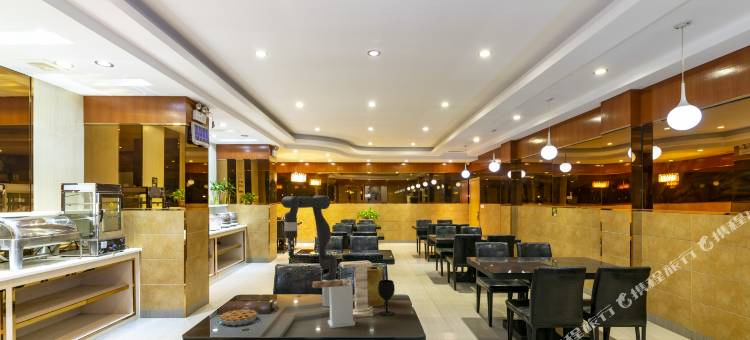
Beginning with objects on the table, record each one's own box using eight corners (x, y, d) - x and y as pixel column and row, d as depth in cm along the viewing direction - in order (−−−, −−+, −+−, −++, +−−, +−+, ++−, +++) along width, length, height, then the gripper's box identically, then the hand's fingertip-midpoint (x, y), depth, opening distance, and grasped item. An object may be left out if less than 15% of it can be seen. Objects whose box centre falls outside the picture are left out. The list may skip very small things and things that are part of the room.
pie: (246, 313, 265) (246, 305, 265) (264, 320, 249) (264, 312, 249) (213, 321, 249) (213, 313, 249) (229, 329, 234) (229, 320, 234)
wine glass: (398, 313, 258) (397, 280, 259) (387, 317, 250) (386, 283, 251) (386, 310, 265) (385, 278, 266) (375, 314, 257) (374, 281, 258)
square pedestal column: (340, 313, 260) (339, 261, 262) (368, 310, 265) (367, 260, 267) (344, 318, 249) (343, 265, 250) (373, 315, 254) (372, 263, 255)
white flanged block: (327, 322, 242) (327, 284, 243) (351, 320, 246) (350, 282, 247) (331, 328, 232) (330, 288, 233) (355, 325, 236) (354, 286, 237)
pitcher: (388, 306, 272) (385, 267, 274) (360, 308, 272) (357, 269, 274) (388, 300, 289) (385, 264, 291) (361, 302, 289) (359, 266, 291)
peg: (313, 288, 234) (313, 283, 234) (312, 286, 239) (312, 281, 239) (351, 285, 239) (351, 280, 239) (349, 283, 244) (349, 278, 244)
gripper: (298, 230, 241) (298, 258, 240) (296, 228, 254) (296, 255, 253) (285, 231, 238) (285, 259, 238) (283, 229, 252) (283, 255, 251)
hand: (291, 257), depth 245 cm, fingers open, 8 cm apart
